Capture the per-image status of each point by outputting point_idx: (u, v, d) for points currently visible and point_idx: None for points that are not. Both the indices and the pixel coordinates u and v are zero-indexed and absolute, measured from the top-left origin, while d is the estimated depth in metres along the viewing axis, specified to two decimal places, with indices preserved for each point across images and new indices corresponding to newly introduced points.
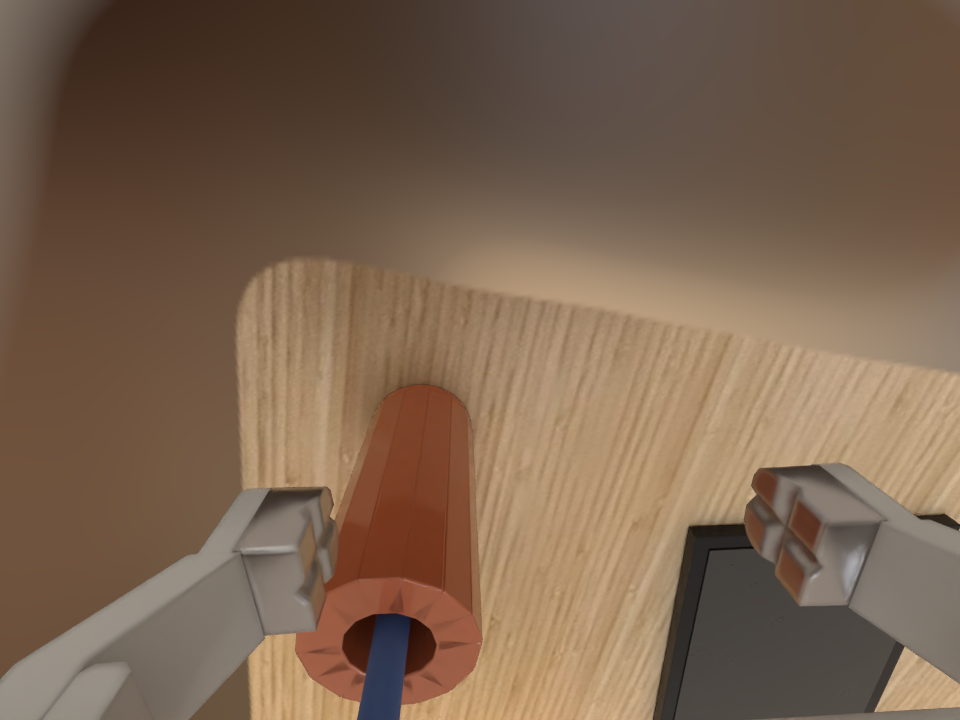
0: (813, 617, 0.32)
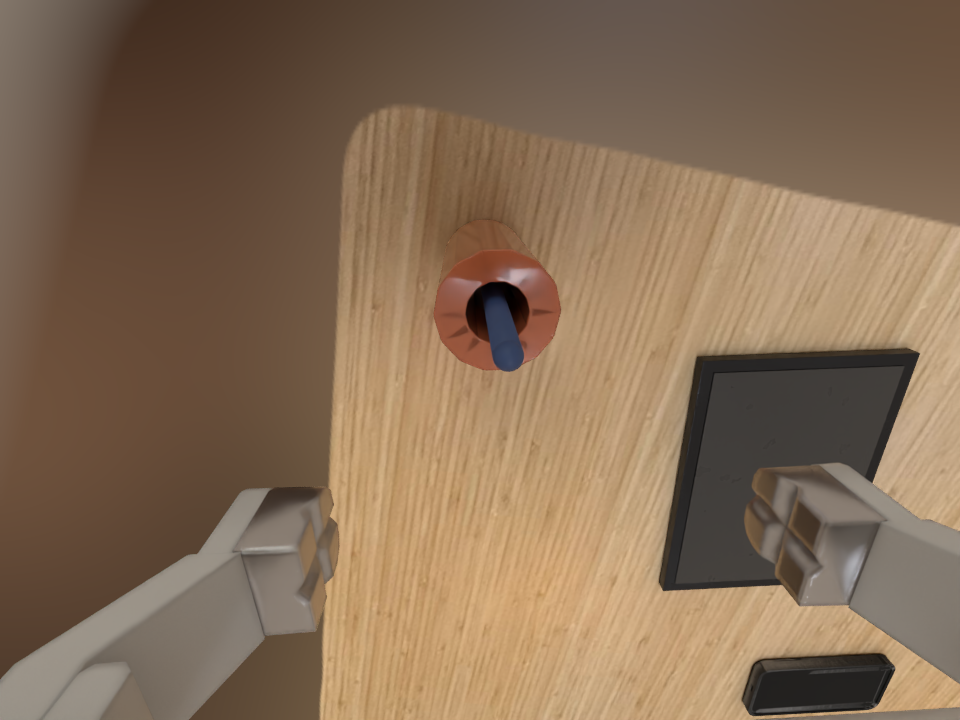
0: (799, 440, 0.38)
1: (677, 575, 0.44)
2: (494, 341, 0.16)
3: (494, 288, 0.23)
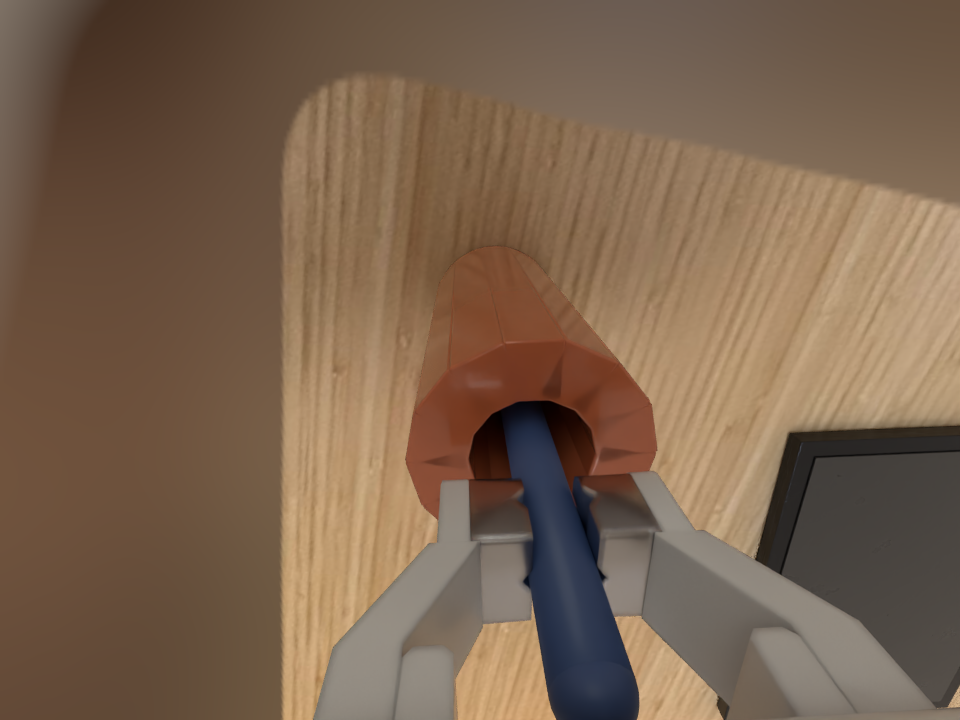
0: (923, 542, 0.28)
1: None
2: (550, 632, 0.06)
3: None
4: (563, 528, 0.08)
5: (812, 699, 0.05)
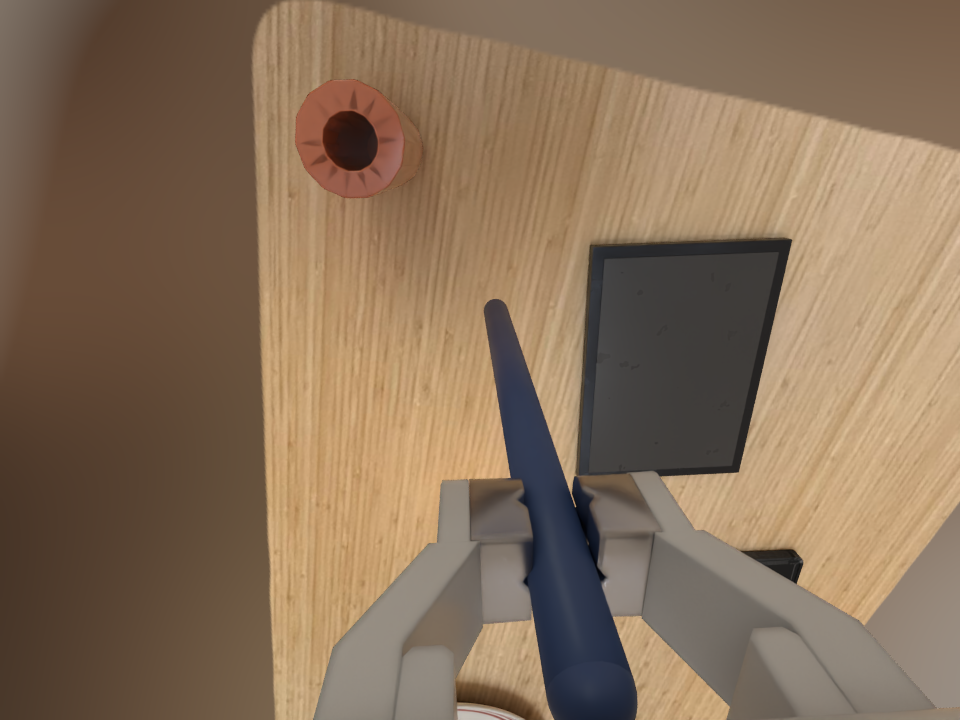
0: (689, 327, 0.42)
1: (590, 464, 0.47)
2: (548, 632, 0.06)
3: (520, 389, 0.12)
4: (562, 528, 0.08)
5: (812, 699, 0.05)
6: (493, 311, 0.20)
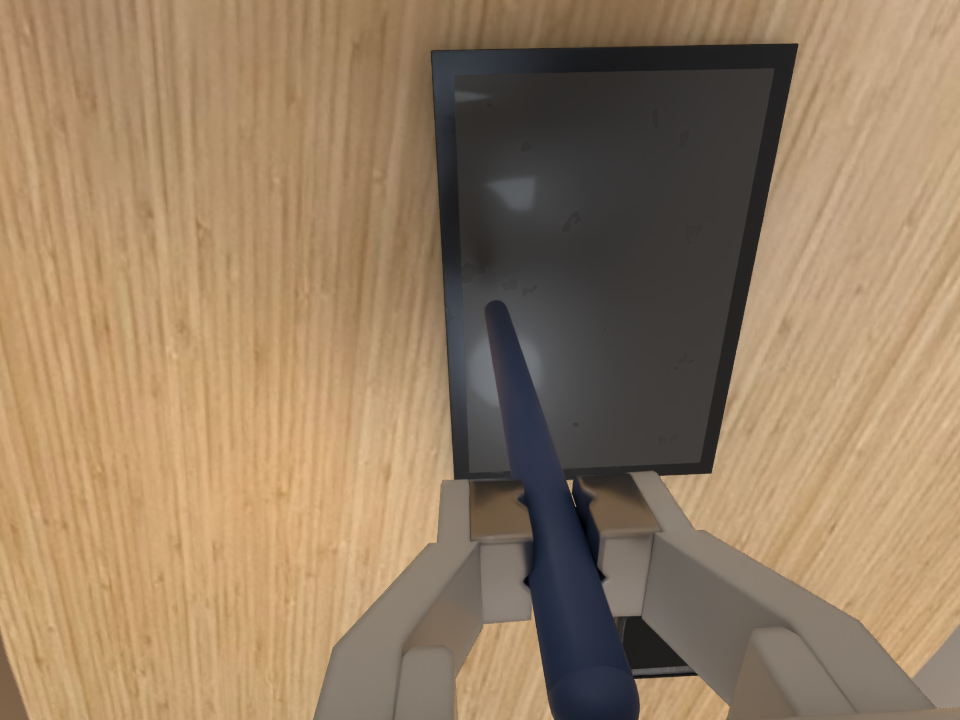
0: (619, 216, 0.24)
1: (470, 459, 0.29)
2: (550, 636, 0.06)
3: (521, 391, 0.12)
4: (563, 531, 0.08)
5: (812, 698, 0.05)
6: (494, 312, 0.20)
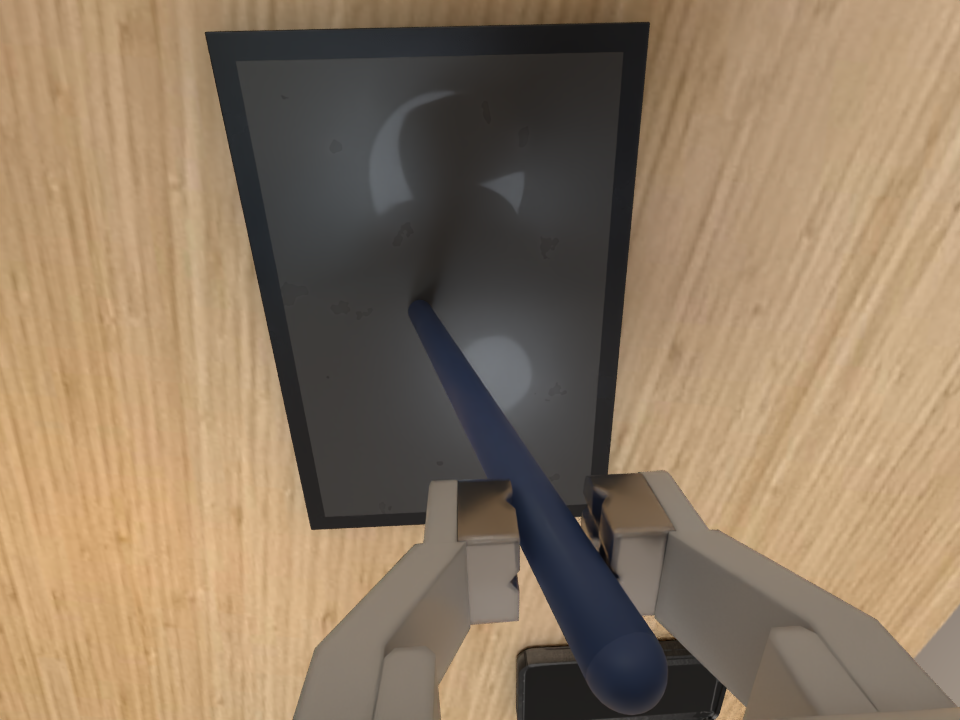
0: (458, 228, 0.20)
1: (324, 501, 0.26)
2: (575, 617, 0.06)
3: (475, 388, 0.13)
4: (558, 517, 0.08)
5: (833, 698, 0.05)
6: (421, 312, 0.19)
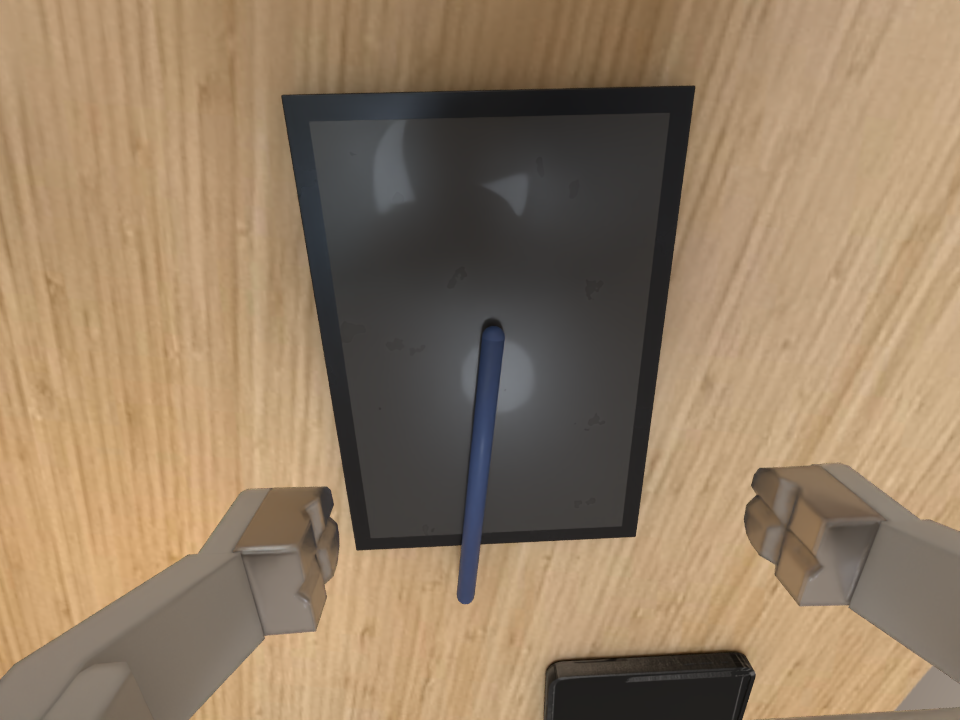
0: (509, 271, 0.22)
1: (370, 524, 0.27)
2: (459, 591, 0.28)
3: (476, 503, 0.25)
4: (469, 574, 0.27)
5: None
6: (486, 373, 0.22)
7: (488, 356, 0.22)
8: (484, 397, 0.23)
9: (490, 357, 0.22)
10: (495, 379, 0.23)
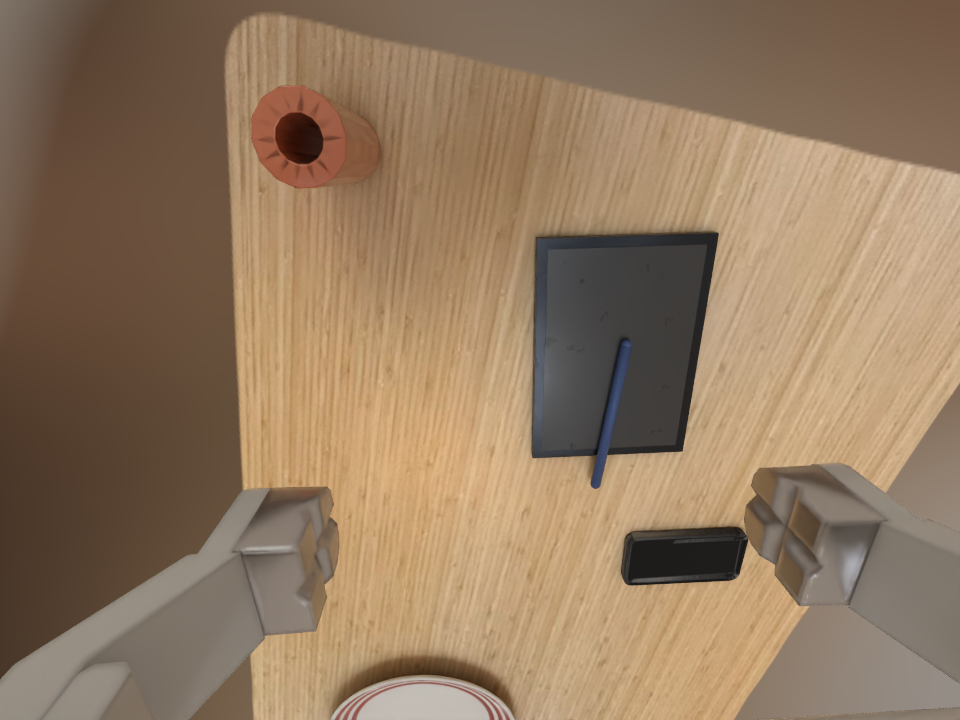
0: (629, 313, 0.45)
1: (543, 442, 0.51)
2: (599, 482, 0.52)
3: (613, 427, 0.49)
4: None
5: None
6: (628, 362, 0.46)
7: (629, 353, 0.46)
8: (625, 373, 0.47)
9: (630, 353, 0.46)
10: None
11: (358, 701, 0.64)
